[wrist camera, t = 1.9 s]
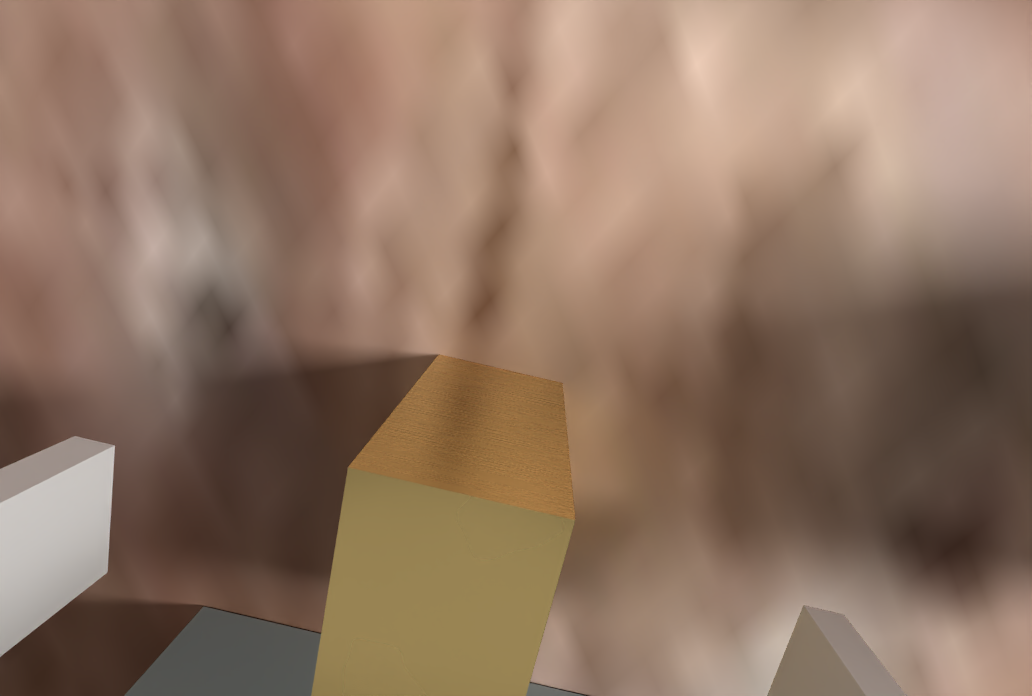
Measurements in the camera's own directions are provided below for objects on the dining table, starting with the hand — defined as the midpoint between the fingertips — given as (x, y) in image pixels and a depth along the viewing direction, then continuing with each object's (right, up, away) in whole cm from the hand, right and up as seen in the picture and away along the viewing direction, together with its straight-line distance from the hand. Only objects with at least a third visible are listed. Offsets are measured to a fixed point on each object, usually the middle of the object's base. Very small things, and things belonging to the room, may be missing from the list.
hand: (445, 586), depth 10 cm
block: (0, +1, +3) cm, 4 cm away
